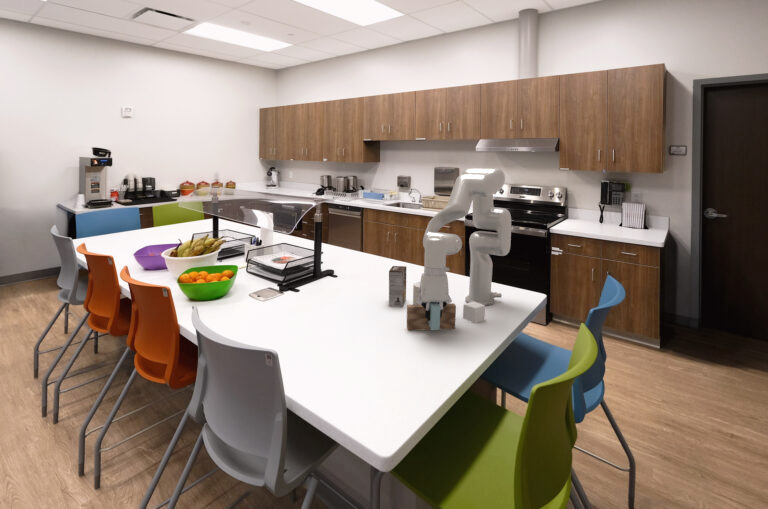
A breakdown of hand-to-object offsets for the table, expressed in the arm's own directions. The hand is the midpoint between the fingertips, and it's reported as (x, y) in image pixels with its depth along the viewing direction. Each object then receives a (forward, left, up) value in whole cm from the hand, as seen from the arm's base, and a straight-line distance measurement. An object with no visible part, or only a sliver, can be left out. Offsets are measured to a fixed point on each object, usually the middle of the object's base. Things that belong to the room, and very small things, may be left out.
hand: (433, 318), depth 163 cm
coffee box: (+9, -33, -5) cm, 35 cm away
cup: (0, -21, -5) cm, 22 cm away
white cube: (-19, -12, -6) cm, 23 cm away
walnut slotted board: (0, -4, -5) cm, 6 cm away
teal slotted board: (0, -4, -3) cm, 5 cm away
